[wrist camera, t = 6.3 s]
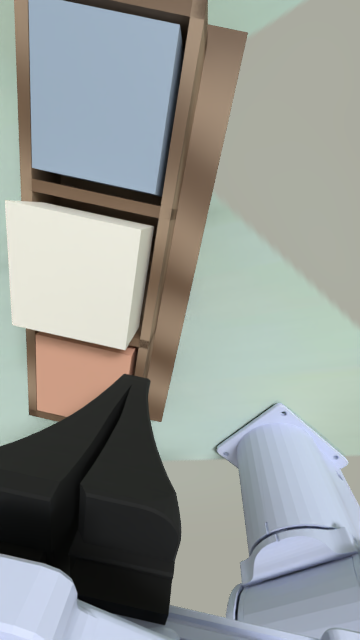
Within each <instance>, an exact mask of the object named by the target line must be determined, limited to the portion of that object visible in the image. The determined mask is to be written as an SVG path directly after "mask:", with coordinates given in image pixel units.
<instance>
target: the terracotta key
mask: <svg viewBox="0 0 360 640" xmlns="http://www.w3.org/2000/svg"><path fill="white" fill-rule="evenodd" d="M138 349H139V347H135V346H131V345H128V346H127V348H126V350H122V349H117V348H113V347H108V346H104V345H99V344H95V343H90V342H86V341H81V340H77V339H72V338H68V337H63V336H59V335H54V334H50V333H45V332H41V331H40V332H38V333H37V334H36V381H37V410H38V411H43V412H47V413H52V414H56V415H60V416H65V417H68V416H70V415H72V414H73V413H75V412H76V411H78V410H79V409H81V408H82V407H84V406H85V405H87V404H88V403H89V402H91V401H92V400H94V399H95V398H96V397H98V396H99V395H100V394H101V393H102V392H104V391H105V390H106V389H107V388H109V387H110V386H111V385H112V384H113V383H114V382H115V381H116V380H118V379H119V378H120V377H121V376H122V375H123V374H129V375H135V368H136V362H137V355H138Z"/></svg>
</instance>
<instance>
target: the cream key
mask: <svg viewBox="0 0 360 640" xmlns="http://www.w3.org/2000/svg"><path fill="white" fill-rule="evenodd" d="M5 210H6V227H7V244H8V261H9V278H10V295H11V312H12V325H14V326H19V327H23V328H28V329H32V330H37V331H41V332H45V333H50V334H54V335H59V336H63V337H68V338H72V339H77V340H81V341H86V342H90V343H95V344H99V345H104V346H108V347H113V348H117V349H122V350H126V348H127V346H128V345H129V343H130V341H131V340H132V338H133V336H134V335H135V333H136V331H137V330H138V328H139V324H140V318H141V311H142V304H143V298H144V291H145V284H146V278H147V271H148V265H149V258H150V251H151V245H152V238H153V231H154V226H151V225H146V224H142V223H137V222H132V221H128V220H123V219H119V218H114V217H109V216H105V215H100V214H95V213H91V212H86V211H82V210H77V209H72V208H68V207H63V206H59V205H54V204H49V203H45V202H29V201H12V200H5Z"/></svg>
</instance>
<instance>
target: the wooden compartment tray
mask: <svg viewBox="0 0 360 640" xmlns="http://www.w3.org/2000/svg"><path fill="white" fill-rule="evenodd" d="M63 1H68V2H73V3H78V4H83V5H87V6H92V7H97V8H102V9H107V10H112V11H116V12H121V13H126V14H131V15H136V16H140V17H145V18H150V19H155V20H160V21H165V22H169V23H174V24H179V25H180V29H181V36H182V43H183V50H184V59H183V66H182V72H181V79H180V85H179V92H178V98H177V104H176V111H175V117H174V124H173V130H172V137H171V143H170V149H169V156H168V162H167V169H166V175H165V182H164V188H163V195H162V197H160V196H155V195H150V194H146V193H141V192H136V191H132V190H127V189H123V188H118V187H113V186H109V185H104V184H99V183H95V182H90V181H85V180H81V179H76V178H72V177H67V176H62V175H59V174H55V173H51V172H47V171H43V170H39V169H35V168H32V143H31V95H30V47H29V0H14V10H15V38H16V66H17V93H18V121H19V148H20V176H21V201H29V202H45V203H49V204H54V205H59V206H63V207H68V208H72V209H77V210H82V211H86V212H91V213H95V214H100V215H105V216H109V217H114V218H119V219H123V220H128V221H132V222H137V223H142V224H146V225H151V226H154V231H153V238H152V245H151V251H150V258H149V265H148V271H147V278H146V284H145V291H144V298H143V304H142V311H141V318H140V324H139V328H138V330H137V331H136V333H135V335H134V336H133V338H132V340H131V341H130V343H129V345H131V346H135V347H139V349H138V355H137V362H136V368H135V375H134V376H138V377H143V378H148V379H149V380H150V381H151V382H150V388H149V394H148V404H149V415H150V420H154V421H159V422H161V421H162V416H163V412H164V407H165V403H166V399H167V394H168V390H169V385H170V381H171V376H172V372H173V367H174V363H175V358H176V354H177V349H178V345H179V340H180V336H181V331H182V327H183V322H184V318H185V313H186V309H187V304H188V300H189V295H190V291H191V286H192V282H193V277H194V273H195V268H196V264H197V259H198V255H199V250H200V246H201V241H202V237H203V232H204V228H205V223H206V219H207V214H208V210H209V205H210V201H211V196H212V192H213V187H214V183H215V178H216V173H217V169H218V165H219V160H220V156H221V151H222V147H223V142H224V138H225V133H226V129H227V124H228V119H229V115H230V111H231V106H232V101H233V97H234V93H235V88H236V84H237V79H238V74H239V70H240V66H241V61H242V56H243V52H244V48H245V43H246V39H247V34H248V33H247V32H242V31H237V30H233V29H228V28H223V27H218V26H213V25H208V0H63ZM38 332H40V331H37V330H32V329H28V328H26V342H27V369H28V397H29V415H32V416H36V417H40V418H45V419H49V420H54V421H58V422H59V421H61V420H63V419H65V418H67V417H65V416H60V415H56V414H52V413H47V412H43V411H38V410H37V381H36V334H37V333H38Z"/></svg>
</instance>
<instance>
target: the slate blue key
mask: <svg viewBox="0 0 360 640" xmlns="http://www.w3.org/2000/svg"><path fill="white" fill-rule="evenodd" d="M29 47H30V95H31V143H32V168H35V169H39V170H43V171H47V172H51V173H55V174H59V175H62V176H67V177H72V178H76V179H81V180H85V181H90V182H95V183H99V184H104V185H109V186H113V187H118V188H123V189H127V190H132V191H136V192H141V193H146V194H150V195H155V196H160V197H162V195H163V188H164V182H165V175H166V169H167V162H168V156H169V149H170V143H171V137H172V130H173V124H174V117H175V111H176V104H177V98H178V92H179V85H180V79H181V72H182V66H183V59H184V50H183V43H182V36H181V29H180V25H179V24H174V23H169V22H165V21H160V20H155V19H150V18H145V17H140V16H136V15H131V14H126V13H121V12H116V11H112V10H107V9H102V8H97V7H92V6H87V5H83V4H78V3H73V2H68V1H63V0H29Z"/></svg>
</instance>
